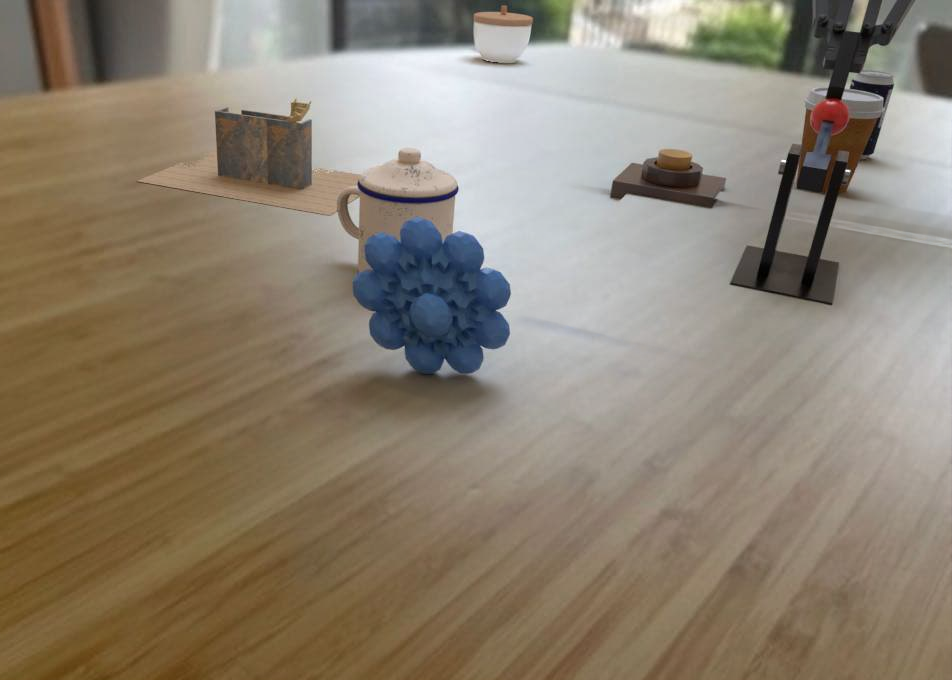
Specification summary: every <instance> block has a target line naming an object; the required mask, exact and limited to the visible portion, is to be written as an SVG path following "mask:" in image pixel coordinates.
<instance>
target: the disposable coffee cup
mask: <svg viewBox="0 0 952 680" xmlns="http://www.w3.org/2000/svg"><path fill="white" fill-rule="evenodd" d="M828 87H829V86H827V87H826V86H820V87H812V88H811V89H810V91H809V93H808V94H807V95H808V96H807V97H805V98H804V100H803V101H804V103H805V104H804V107H805V115H804V123H803V129H802V137H801V138H802V139H801V144H800V145H803V150H802V153H801V157H800V161H799V165H798V169H797V173H796V182H795V184H796V185H797V183H798V179H799V175H800V172H801V168H802V164H803V161H804V158H805V155H806V152H807V151H808V152H813V151H814V147H815V144H816V141H817V137H818V133H816V132H815V131H814V130H813V128H812V126H811V123H810V116H811V112H812V110H813V109H814V107H815V106H816V105H817V104H818V103H819V102H821V101H823V100H825V98H826V94H827V91H828ZM841 101H843V102H844V103H845V104H846V105H847V106H848V108H849V111H850V119H849V122H848V124H847V126H846V127H845V128H844V129H843V130H842V131H841V132H840V133H838V134H836V135H832V136H831V137H830V140H829V144H828V147H827V151H826V154H828V155H832V156H831V160H830V164H829V167H828V171H827V175H826V178H825V182H824V185H823V189H822V192H821V193H820V194H822V193H823V194H826V191H827V187H828V184H829V180H830V177H831V173H832V170H833V166H834V163H835V159H836V155H837V152H838V150H840V151H847V152H849V157H848V162H847V166H846V169H850V170H851V172H850V176H849V179H848V183H847V185H842V184H841V187H840V190H839V194H844V193H846V192H847V191H848V188H849V185H850V183H851V181H852V179H853V177H854V174H855V172H856V169H857V167H858V165H859V163H860V161H861V159H860V158H861V156H862V154H863V151H864V149H865V147H866V145H867V142H868V140H869V138H870V135H871V133H872V131H873V129H874V126H875V124H876V121H877V119H878V117H880V116H881V113H883V112H884V110H885V109H884V108H883V101H884V98H883V97H881V96H879V95H877V94H873V93H869V92H865V91H859V90H853V89H850V88H845V89H844V93H843V96H842V100H841Z"/></svg>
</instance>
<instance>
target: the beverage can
mask: <svg viewBox="0 0 952 680" xmlns="http://www.w3.org/2000/svg"><path fill="white" fill-rule="evenodd" d="M894 76H895V75H894V74H893V73H890V72H887V71H880V70H873V69H863V70H862V71H861V72H860V73H855V76H854V77H852V79H851V81H850V85H849V89H853V90H859V91H865V92H869V93H873V94H877V95H879V96H881V97H883V98H884V101H883V108H884V109H885V110H884V112H883V113H881V116H880V117H878V119H877V121H876V124H875V126H874V129H873V131H872V133H871V135H870V138H869V140H868V142H867V145H866V147H865V149H864V151H863V154H862V156H861V158H860V160H867V158H868V157H871V155H873V154H874V153H875V149H876V147H877V143H878V140H879V137H880V133H881V130H882V127H883V123H884V120H885V117H886V114H887V110H888V107H889V104H890V100H891V98H892V94H893V90H894V86H895V83H894Z"/></svg>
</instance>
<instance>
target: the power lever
mask: <svg viewBox="0 0 952 680" xmlns="http://www.w3.org/2000/svg"><path fill="white" fill-rule="evenodd" d="M849 119H850V111H849V108H848V106H847V105H846V104H845V103H844V102H843V101H841V100H839V99H835V98H830V99H825V100H823V101H821V102H819V103H818V104H817V105H816V106H815V107H814V109H813V110H812V112H811V116H810V123H811V126H812V128H813V130H814V131H815V132H816V133H818V137H817V141H816V144H815V147H814V151H813V152H808V151H807V152H806V155H805V158H804V161H803V164H802V168H801V172H800V175H799V179H798V183H797V184H796V188H795V189H796V190H801V191H806V192H813V193H819V194H822V193H821V192H822V189H823V185H824V182H825V178H826V175H827V171H828V167H829V164H830V160H831V156H832V155H828V154H826V151H827V147H828V144H829V140H830V137H831V136H832V135H836V134H838V133H840V132H841V131H842V130H843V129H844V128H845V127H846V126H847V124H848V122H849Z"/></svg>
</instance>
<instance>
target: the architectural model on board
mask: <svg viewBox="0 0 952 680" xmlns="http://www.w3.org/2000/svg"><path fill="white" fill-rule="evenodd" d="M311 104H312V100H310V101H309V102H300V101H298V99H297V98H294V100H293V101H292V102H290V114H289V115H282V114H275V113H269V112H262V111H255V110H248V109H241V110H240V111H241V112H240V113H234V112H229V111H230V110H229V108H230V107H228V106H227V107H226V106H225V107H222V108H220V109H217V110H214V122H215V125H214V126H215V140H216V142H215V143H216V150H209V151H210V152H211V151H213V152H214V153H213V152H211V153H210V152H209V151H208V152H209V153H210V154H208V153H207V155H211V157H210V156H208V157H209V158H208V157H206V156H205V157H203V158H205V159H203V160H201V161H200V160H198V161H200V162H198V163H197V164H195V165H197V166H196V167H194V166H195V165H194V166H192V165H190V166H192V167H190V166H189V167H190V168H189V167H187V166H188V165H186V166H185V165H183V164H184V163H182V162H179V163H177V164H174V165H172V166H170V167H167V168H165V169H163V170H159V171H158V172H154V173H152V174H150V175H148V176H145V177H142V178H141V179H138V180H137V182H140V183H145V184H150V185H156V186H163V187H168V188H173V189H179V190H184V191H189V192H196V193H202V194H206V195H212V196H219V197H224V198H230V199H236V200H239V201H240V200H241V201H247V202H252V203H258V204H264V205H268V206H274V207H280V208H285V209H291V210H297V211H304V212H307V213H314V214H318V215H319V214H320V215H326V216H332V215H333V214H334V213H336V212H337V200H338V196H339V194H340V193H341V192H342V191H343V190H344V189H346V188H348V187H351V186H357V183H358V180H359V177H360V176H361V174H358V173H354V172H353V173H352V172H347V173H346V171H339V170H334V169H328V170H330V171H331V170H333V172H330V171H329V173H326V172H328V170H325V169H326V168H321V167H317V168H318V169H320V170H317V169H314V170H317V172H316V171H314V170H312V167H313V164H312V162H313V160H312V159H313V149H312V148H313V144H312V143H313V119H311V118H310V119H306V120H304V121H302V120H303V119H304V118H305V116H306V115H307V113H308V112H309V111H310V109H311ZM301 121H302V122H301ZM203 154H204V153H203ZM204 155H206V154H204ZM212 155H213V156H212ZM202 161H203V162H202ZM209 161H210V162H209ZM192 163H193V162H192ZM195 163H196V162H195ZM199 163H200V164H199ZM179 164H180V165H179ZM187 164H188V163H187ZM178 165H179V166H178ZM181 165H183V166H184V167H183V166H181ZM199 165H200V166H199ZM173 166H174V167H173ZM185 167H186V168H185ZM322 170H324V171H322ZM338 171H339V172H338ZM318 172H319V173H318ZM314 173H315V174H314ZM357 198H360V196H358V195H353V194H351V195H350V196H349V198H348V204H350V203H351V202H353V201H355V200H356V199H357Z"/></svg>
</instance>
